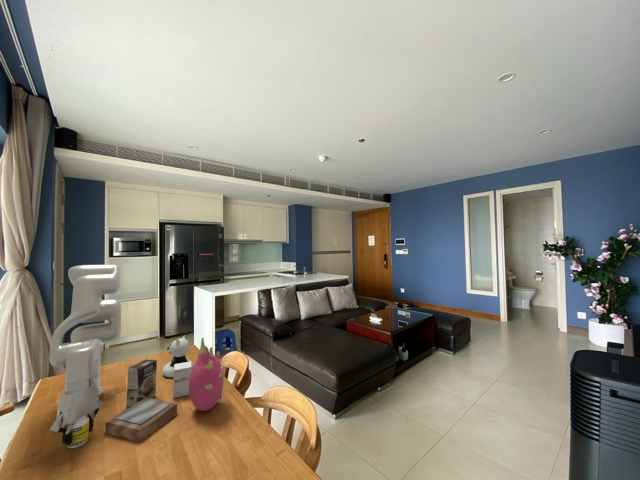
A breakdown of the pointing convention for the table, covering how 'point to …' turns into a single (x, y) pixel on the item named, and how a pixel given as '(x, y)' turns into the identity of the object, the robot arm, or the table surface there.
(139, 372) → the coffee box
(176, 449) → the table surface
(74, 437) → the supplement bottle
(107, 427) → the walnut stand
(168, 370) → the decorative figurine
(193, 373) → the pink dragon fruit
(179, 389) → the supplement box
